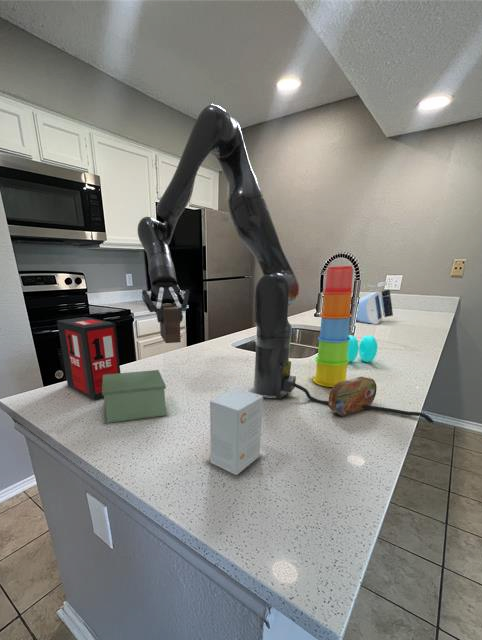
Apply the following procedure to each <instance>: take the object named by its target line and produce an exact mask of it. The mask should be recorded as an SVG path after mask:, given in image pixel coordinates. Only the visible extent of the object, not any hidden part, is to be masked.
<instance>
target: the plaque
mask: <svg viewBox="0 0 482 640" xmlns="http://www.w3.org/2000/svg"><path fill="white" fill-rule="evenodd" d="M161 309H162V313H163V319H164V322H163V324H160V323H159V329H160V330H159V331H160V337H161V338H162V340H163V341H164V343H165V344H176V343H178V344H179V343H181V342H182V341H181V340H182V339H181V323H180V309H179V308H178V307H176V306H175V305H172V304H169V303H166V304H162V305H161Z"/></svg>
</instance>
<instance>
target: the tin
mask: <svg viewBox="0 0 482 640" xmlns="http://www.w3.org/2000/svg"><path fill="white" fill-rule="evenodd" d="M377 388H378V387H377V383H376V381H375V380H374V379H373V378H370V377H365V376H358V377H354V378H350V379H347V380H346V381H341V382H339V383H337V384H336V385H334V387H331V389H330V391H329V395H328V401H329V405H328V408H329V410H330V411H332V412H333V413H335V414H338V415H339V416H341V417H343V416H348V415H351V414H354V413H357V412H360V411H363V410H365V409H364V408H362V406H363V405H369V406H372V404H373V402H374V401H375V398H376V396H377V390H378V389H377Z"/></svg>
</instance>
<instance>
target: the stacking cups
mask: <svg viewBox="0 0 482 640" xmlns="http://www.w3.org/2000/svg"><path fill="white" fill-rule="evenodd" d="M353 274H354V268H353V265H342V266H341V265H340V266H328V267H327V269H326V274H325V287H324V291H322V293H323V301H322V303H323V304H322V311H321V314H319V316H320V317H321V319H320V329H319V330H320V331H319V336H318V337H317V340H318V350H317V357H315V362H316V368H315V376H314V377H313V378H312V381H313V382H314V384H317V385H318V386H322V387H326V388H333V387H334V385H336V384H337V383H339V382H341V381H346V380H348V379H347V370H348V364H349V363H350V362H349V359H348V358H347V354H348V342H349V340H350V337H348V336H349V335H350V323H351V318H350V317H352V315H351V314H350V307H351V305H352V294H353V293H354V290H352V289H353V288H352V287H353V278H354V277H353Z"/></svg>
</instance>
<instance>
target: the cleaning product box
mask: <svg viewBox="0 0 482 640" xmlns="http://www.w3.org/2000/svg"><path fill="white" fill-rule="evenodd" d="M56 324H57V330H58V337H59V342H60V349H61V353H62V361H63V366H64V367H63V368H64V371H65V372H64V373H65V378H66V385H67V386H68V387H70V388H72V389H73V390H76V391H77V392H79V393H81V394H83V395H84V396H86V397H88V398H90V399H91V400H93V401H96V400H100V399H102V398H103V399H104V395H102V383H103V375H107V374H118V373H121V365H120V355H119V345H118V336H117V326H116V323H115V322H111V321H106V320H102V319H97V318H93V317H88V316H83V317H75V318H66V319H59V320H56Z"/></svg>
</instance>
